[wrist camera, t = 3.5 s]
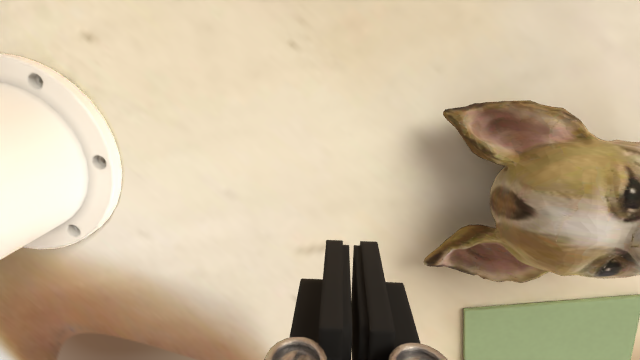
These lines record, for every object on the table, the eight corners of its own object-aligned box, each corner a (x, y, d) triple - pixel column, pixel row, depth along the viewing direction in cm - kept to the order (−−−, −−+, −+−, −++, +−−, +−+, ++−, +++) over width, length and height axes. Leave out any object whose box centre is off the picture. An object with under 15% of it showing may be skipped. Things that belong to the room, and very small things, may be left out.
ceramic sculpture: (813, 377, 14) (446, 344, 15) (644, 264, 22) (415, 249, 24) (971, 123, 11) (485, 110, 12) (705, 100, 19) (433, 94, 20)
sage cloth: (463, 390, 27) (464, 393, 27) (463, 308, 24) (464, 311, 24) (622, 380, 26) (626, 384, 26) (640, 294, 23) (643, 296, 23)
